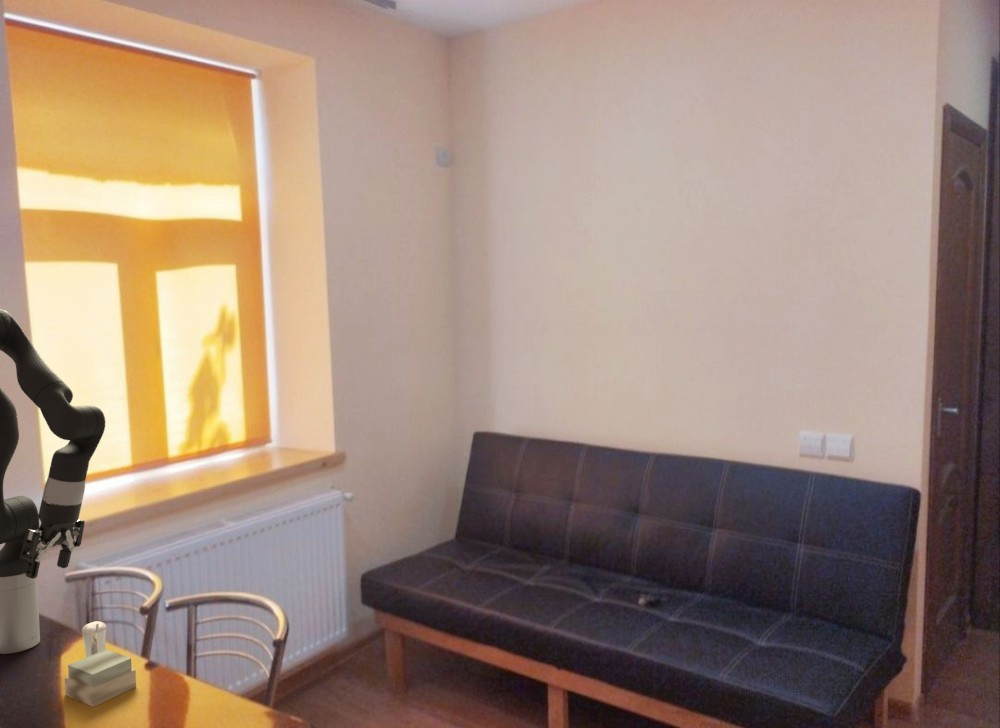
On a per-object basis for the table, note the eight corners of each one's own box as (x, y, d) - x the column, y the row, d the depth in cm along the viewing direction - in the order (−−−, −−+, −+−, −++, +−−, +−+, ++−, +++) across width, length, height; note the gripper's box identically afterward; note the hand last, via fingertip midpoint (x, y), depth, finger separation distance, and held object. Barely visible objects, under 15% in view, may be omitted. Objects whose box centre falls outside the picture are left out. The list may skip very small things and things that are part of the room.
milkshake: (87, 673, 163) (85, 626, 162) (81, 664, 167) (79, 618, 166) (111, 667, 166) (109, 621, 165) (104, 658, 170) (102, 613, 169)
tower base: (65, 695, 154) (64, 665, 154) (108, 676, 162) (107, 647, 162) (93, 706, 150) (91, 676, 149) (136, 686, 157) (134, 657, 157)
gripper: (72, 488, 174) (57, 559, 175) (20, 498, 160) (4, 575, 161) (101, 497, 173) (86, 569, 173) (51, 508, 159) (35, 586, 159)
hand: (46, 572), depth 167 cm, fingers open, 8 cm apart
